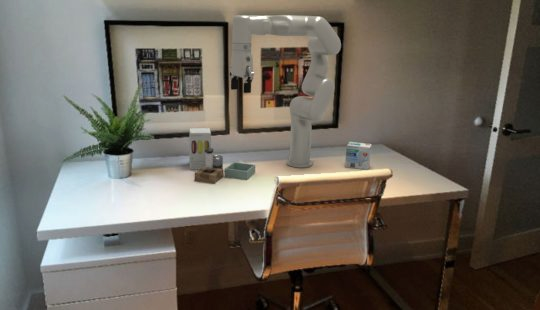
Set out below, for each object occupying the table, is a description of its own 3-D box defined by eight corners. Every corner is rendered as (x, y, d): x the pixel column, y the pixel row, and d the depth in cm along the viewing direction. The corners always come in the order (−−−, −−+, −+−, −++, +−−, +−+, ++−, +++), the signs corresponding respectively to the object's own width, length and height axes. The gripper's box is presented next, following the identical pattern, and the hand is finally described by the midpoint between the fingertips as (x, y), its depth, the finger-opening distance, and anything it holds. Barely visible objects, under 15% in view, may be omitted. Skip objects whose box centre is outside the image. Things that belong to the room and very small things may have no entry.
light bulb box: (344, 167, 219) (346, 144, 216) (347, 163, 226) (348, 141, 222) (367, 170, 216) (369, 147, 213) (369, 166, 222) (371, 143, 219)
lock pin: (207, 177, 201) (206, 147, 197) (214, 178, 200) (214, 148, 196) (203, 179, 197) (203, 149, 194) (211, 180, 196) (211, 150, 193)
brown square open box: (204, 174, 204) (204, 166, 203) (223, 176, 201) (223, 169, 200) (194, 180, 196) (194, 172, 195) (214, 183, 193) (214, 175, 192)
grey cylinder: (212, 169, 211) (212, 152, 208) (224, 171, 209) (224, 154, 207) (206, 173, 205) (206, 156, 203) (219, 175, 203) (219, 157, 201)
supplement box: (189, 169, 209) (189, 132, 204) (189, 163, 218) (188, 127, 213) (211, 169, 211) (211, 132, 206) (210, 162, 220) (209, 127, 215)
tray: (233, 169, 211) (233, 162, 210) (255, 172, 208) (255, 164, 207) (224, 176, 202) (224, 168, 201) (247, 179, 199) (247, 171, 198)
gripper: (261, 49, 182) (260, 93, 187) (238, 46, 196) (237, 87, 200) (245, 49, 178) (244, 94, 183) (222, 46, 191) (222, 88, 196)
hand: (240, 91), depth 192 cm, fingers open, 9 cm apart
